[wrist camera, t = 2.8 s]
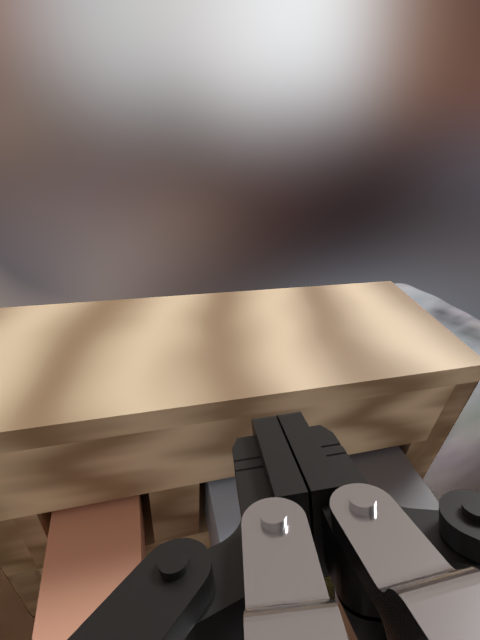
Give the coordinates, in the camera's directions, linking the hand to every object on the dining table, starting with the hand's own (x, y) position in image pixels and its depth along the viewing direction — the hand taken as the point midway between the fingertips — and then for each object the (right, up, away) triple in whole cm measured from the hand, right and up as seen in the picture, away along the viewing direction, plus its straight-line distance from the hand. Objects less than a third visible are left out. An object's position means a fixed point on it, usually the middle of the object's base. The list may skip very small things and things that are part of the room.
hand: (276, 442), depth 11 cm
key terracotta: (-8, -10, +7) cm, 14 cm away
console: (-2, -10, +18) cm, 21 cm away
